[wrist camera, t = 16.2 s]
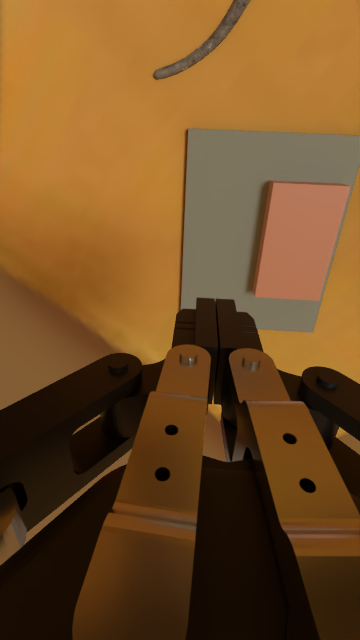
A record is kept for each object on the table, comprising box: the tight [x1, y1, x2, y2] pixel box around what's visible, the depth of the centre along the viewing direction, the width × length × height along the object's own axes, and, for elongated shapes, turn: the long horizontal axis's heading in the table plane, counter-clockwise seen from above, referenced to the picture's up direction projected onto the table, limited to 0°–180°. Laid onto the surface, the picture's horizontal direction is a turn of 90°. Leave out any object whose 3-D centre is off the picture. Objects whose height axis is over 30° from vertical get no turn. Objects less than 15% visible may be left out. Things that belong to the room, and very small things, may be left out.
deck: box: [252, 180, 351, 301], centre depth 29 cm, size 10×2×6 cm
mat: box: [181, 129, 360, 333], centre depth 30 cm, size 18×14×1 cm
